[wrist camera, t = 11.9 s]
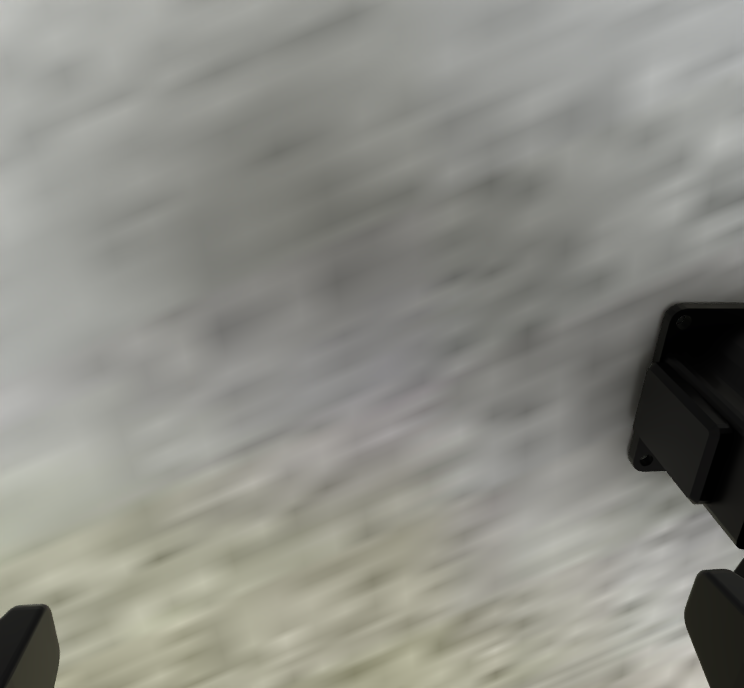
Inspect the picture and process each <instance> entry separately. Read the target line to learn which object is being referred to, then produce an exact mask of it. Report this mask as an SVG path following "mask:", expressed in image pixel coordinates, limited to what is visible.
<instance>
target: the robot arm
mask: <svg viewBox="0 0 744 688" xmlns="http://www.w3.org/2000/svg"><path fill="white" fill-rule="evenodd" d="M682 316H685V319H684V321H683V322H681V323H680V324H677V321H678V319H679V318H680V317H682ZM633 429H634V435H633V439H632V443H631V446H630V450H629V454H628V459H629V461H630V462H631V464H632V465H633V467H634V468H635V469H636V470H638V471H642V472H649V471H667V473H668V474H669V475H670V476H671V478H672V479H673V480H674V482H675V483H676V484H677V485H678V487H679V488H680V489H681V490H682V492H683V493H684V494H685V495H686V497H687V498H688V499H689V500H690V501H691V502H692V503H693V504H703V505H704V506H705V508H706V509H707V510H708V511H709V513H710V514H711V515H712V516H713V518H714V519H715V520H716V521H717V523H718V524H719V525H720V526H721V528H722V529H723V530H724V531H725V532H726V534H727V535H728V536H729V537H730V539H731V540H732V541H733V542H734V544H735V545H736V546H737V547H738V548H739V549H744V304H676V305H674V306H672V307H671V308H670V309H669V310H668V311H667V312H666V313H665V316H664V318H663V322H662V326H661V330H660V334H659V337H658V341H657V345H656V349H655V353H654V357H653V361H652V364H651V365H650V367H649V368H648V370H647V373H646V377H645V381H644V385H643V389H642V393H641V397H640V401H639V404H638V408H637V412H636V416H635V420H634V424H633ZM644 455H647V457H645V458H644V459H641V458H642V457H643V456H644ZM640 459H641V460H640ZM684 619H685V624H686V628H687V631H688V633H689V636H690V638H691V641H692V643H693V646H694V648H695V651H696V653H697V656H698V658H699V661H700V663H701V666H702V668H703V671H704V673H705V676H706V679H707V681H708V684H709V686H710V688H744V558H743V559H742V561H741V562H740V563H739V565H738V566H737V568H736V569H735V570H734V572H733V571H731V570H727V569H712V570H703V571H701V572H699V573H698V574H697V576H696V578H695V581H694V584H693V587H692V590H691V593H690V595H689V598H688V601H687V604H686V607H685V612H684ZM59 659H60V649H59V643H58V639H57V634H56V630H55V625H54V621H53V617H52V612H51V610H50V608H49V606H47V605H45V604H32V605H18V606H15V607H13V608H12V609H10V610H9V611H8V612H7V613H6V614H5V615H4V616H3V617H2V618H0V688H54V685H55V681H56V676H57V671H58V666H59Z"/></svg>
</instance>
